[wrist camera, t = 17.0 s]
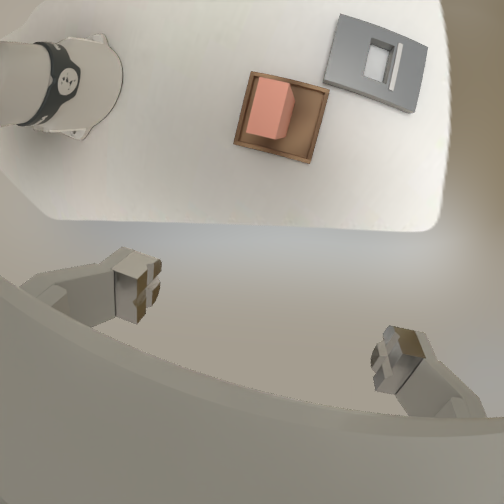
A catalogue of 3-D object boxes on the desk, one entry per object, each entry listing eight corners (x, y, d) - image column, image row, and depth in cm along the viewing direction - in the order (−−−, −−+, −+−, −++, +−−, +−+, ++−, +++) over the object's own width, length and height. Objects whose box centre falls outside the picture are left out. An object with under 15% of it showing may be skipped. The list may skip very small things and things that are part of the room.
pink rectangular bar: (267, 132, 36) (245, 132, 23) (276, 96, 34) (259, 76, 21) (285, 136, 36) (275, 139, 23) (295, 100, 33) (289, 83, 21)
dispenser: (322, 82, 32) (324, 78, 30) (338, 20, 28) (340, 12, 25) (408, 113, 32) (415, 112, 29) (421, 51, 27) (428, 46, 25)
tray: (236, 143, 38) (233, 144, 36) (253, 73, 33) (251, 71, 32) (309, 162, 37) (309, 164, 35) (328, 91, 33) (329, 89, 31)
